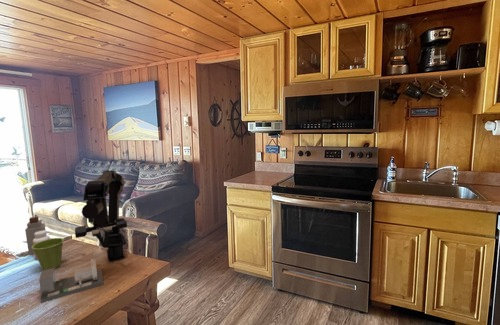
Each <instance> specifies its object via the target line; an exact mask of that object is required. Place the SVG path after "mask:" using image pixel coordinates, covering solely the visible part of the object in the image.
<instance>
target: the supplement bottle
mask: <svg viewBox="0 0 500 325" xmlns="http://www.w3.org/2000/svg"><path fill="white" fill-rule="evenodd" d="M34 236H35V238H34V239H33V245H34V244H36V243H38V242H41V241H44V240H48V239H51V237H50V236H49V235H48V234H47V231H39V232H36V233H34ZM34 253H35V251H34ZM34 258H35V260H37V261H39V260H38V257H37V255H36V253H35V255H34Z"/></svg>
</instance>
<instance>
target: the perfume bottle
mask: <svg viewBox="0 0 500 325" xmlns="http://www.w3.org/2000/svg"><path fill="white" fill-rule="evenodd" d="M39 218H40V217H39V216H31V217H30V218H29V221H28V222H27V223H26V226H27V227H26V228H25V230H24V231H25V237H26V243H27V250H28V251H27V252H28V256H29V257H30V256H31V257H32V256H35V253H34V249H32V246H33V239H34V238H35V236H34V233H36V232H39V231H46V225H45V223H44V222H42V221H43V219H39ZM46 232H47V231H46Z"/></svg>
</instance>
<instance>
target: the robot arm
mask: <svg viewBox="0 0 500 325" xmlns="http://www.w3.org/2000/svg"><path fill="white" fill-rule="evenodd" d="M124 186H125V179H124V177H123V175H121V174H119V173H117V172H116V170H105V171H103V172H102V174H101V175H99V176H98V177H97V179H93V180H89V181H87V183H86V184H85V186H84V192H83V193H84V194H83V201H84V202H85V201H86V204H85V205H83V207H82V208H81V214H82V216H83V217H84V218H86V219H88V221H87V222H88V223H92V226H88V227H87V226H86V225H81V226H76V227H75V228H74V235H75V238H76V239H77V238H78V239H79V238H83V237H86V236H87V234H88V233H90V232H91V236H92V237H96V239H97V240H98V241H99V243H100V244H101V246H102V248H104V249H106V257H107V260H108V262H113V261H119V260H123V259H125V253H124V246H125V245H127V239H126V236H125V234H124V233H123V229H125V228H127V227H128V222H127V220H126V219H125V218H124V217H122V218H120V195H121V194H122V192H124ZM107 197H108V203H107ZM107 204H108V205H107ZM102 230H103V235H102V233H101V231H102Z"/></svg>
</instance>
